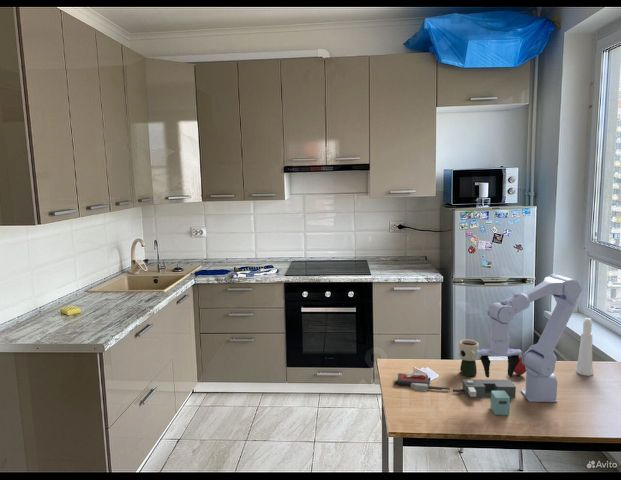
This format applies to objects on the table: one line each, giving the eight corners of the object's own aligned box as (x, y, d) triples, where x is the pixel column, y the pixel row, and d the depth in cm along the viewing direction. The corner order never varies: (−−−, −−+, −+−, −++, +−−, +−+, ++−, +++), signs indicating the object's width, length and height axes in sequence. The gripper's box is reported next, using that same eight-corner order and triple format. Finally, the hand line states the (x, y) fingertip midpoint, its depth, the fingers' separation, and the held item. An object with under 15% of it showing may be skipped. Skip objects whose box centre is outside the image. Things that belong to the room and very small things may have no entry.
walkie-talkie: (394, 389, 173) (450, 393, 168) (394, 378, 172) (450, 382, 168) (395, 379, 181) (448, 383, 177) (395, 368, 180) (448, 372, 176)
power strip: (509, 390, 169) (510, 378, 168) (515, 397, 164) (515, 385, 163) (451, 389, 171) (451, 377, 170) (454, 396, 165) (455, 384, 164)
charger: (502, 404, 159) (502, 387, 158) (509, 415, 152) (510, 398, 151) (488, 404, 159) (489, 387, 158) (495, 415, 152) (495, 398, 151)
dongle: (472, 390, 165) (472, 385, 165) (476, 396, 161) (476, 391, 161) (467, 390, 165) (467, 385, 165) (470, 396, 161) (470, 391, 161)
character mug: (454, 368, 188) (455, 337, 186) (472, 367, 188) (473, 337, 186) (463, 380, 178) (464, 348, 176) (482, 379, 178) (483, 347, 176)
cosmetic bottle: (573, 368, 185) (576, 315, 181) (589, 369, 184) (593, 316, 180) (578, 375, 179) (582, 320, 176) (596, 376, 178) (599, 321, 174)
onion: (512, 371, 184) (513, 351, 183) (528, 374, 181) (529, 354, 180) (509, 376, 180) (509, 356, 179) (525, 380, 176) (526, 360, 175)
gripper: (517, 333, 160) (515, 370, 162) (474, 334, 161) (473, 371, 163) (525, 341, 153) (523, 380, 155) (480, 342, 154) (479, 380, 156)
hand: (498, 376), depth 159 cm, fingers open, 7 cm apart
